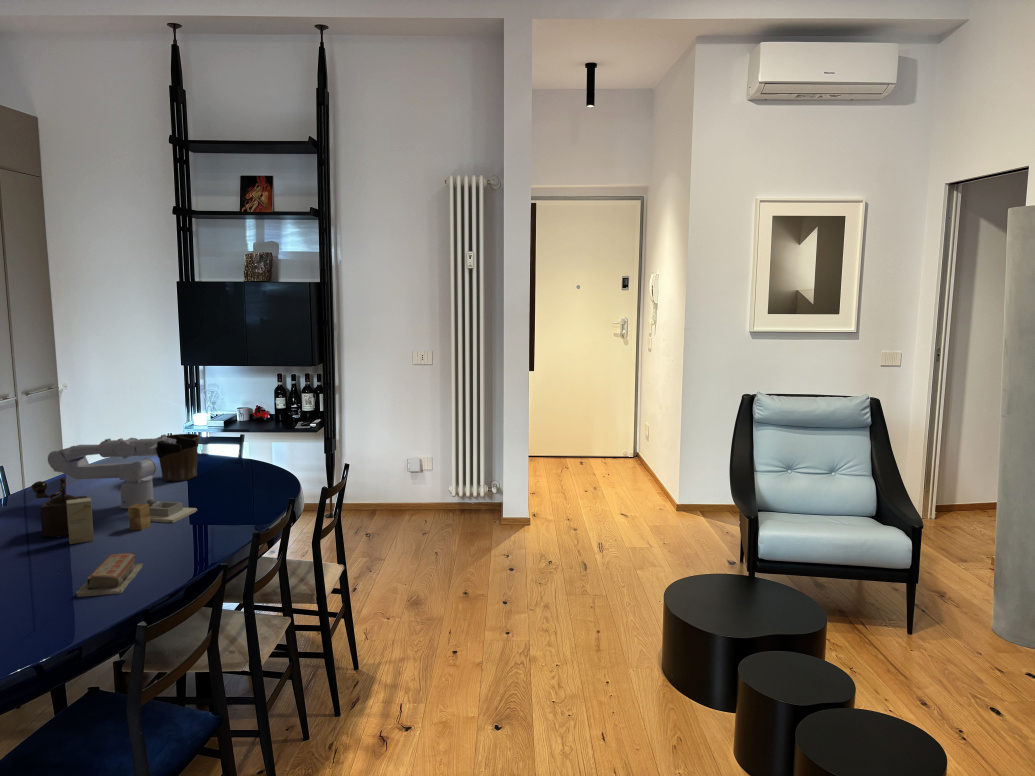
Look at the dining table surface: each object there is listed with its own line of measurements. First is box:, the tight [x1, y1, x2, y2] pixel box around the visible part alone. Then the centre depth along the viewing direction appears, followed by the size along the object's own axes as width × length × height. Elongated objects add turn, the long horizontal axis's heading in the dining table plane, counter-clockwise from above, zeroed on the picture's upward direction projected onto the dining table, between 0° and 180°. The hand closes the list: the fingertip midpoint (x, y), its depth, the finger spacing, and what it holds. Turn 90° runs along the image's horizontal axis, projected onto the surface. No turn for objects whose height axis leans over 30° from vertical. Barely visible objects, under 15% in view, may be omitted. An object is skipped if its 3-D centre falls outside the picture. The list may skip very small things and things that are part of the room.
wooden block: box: [127, 504, 151, 531], centre depth 218 cm, size 4×4×7 cm
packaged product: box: [75, 552, 144, 598], centre depth 178 cm, size 18×5×10 cm
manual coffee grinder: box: [30, 477, 88, 538], centre depth 212 cm, size 16×11×18 cm
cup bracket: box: [147, 499, 198, 524], centre depth 230 cm, size 14×12×5 cm
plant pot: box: [157, 433, 201, 482], centre depth 275 cm, size 16×16×16 cm
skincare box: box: [66, 497, 95, 545], centre depth 206 cm, size 6×4×12 cm
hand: (188, 445), depth 234 cm, fingers open, 7 cm apart
